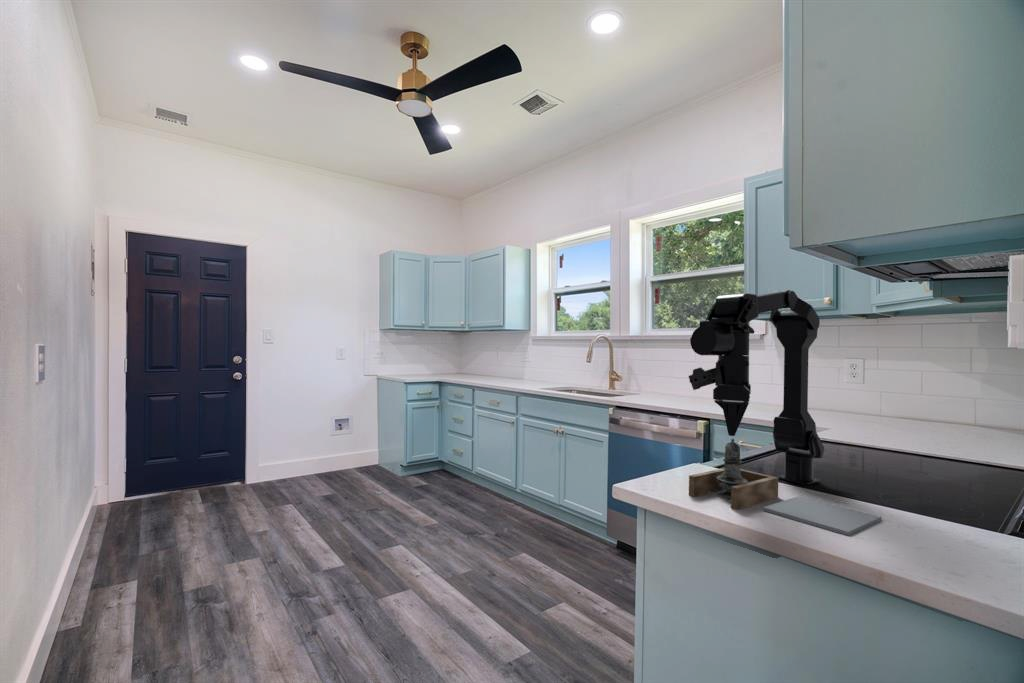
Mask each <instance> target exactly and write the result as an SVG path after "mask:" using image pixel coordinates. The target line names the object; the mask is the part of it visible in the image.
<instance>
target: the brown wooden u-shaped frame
mask: <svg viewBox="0 0 1024 683" xmlns="http://www.w3.org/2000/svg"><path fill="white" fill-rule="evenodd" d="M723 473H724V467H723V468H719V469H713V470H710V471H704V472H700V473H695V474H691V475H688V496H690V495H691V497H697V496H702V495H705V494H709V492H710V493H713V492H717V490H718V491H722V490H721V489H722V488H721V487H720V486H719V483H718V479H717V476H721V475H722V474H723ZM740 473H741V476H742V477H743V478H744V479H746V480H747V481H748V483H744V484H740V485H736V486H732V487H731V500H730V508H731V509H733V510H737V511H738V510H741V509H743V508H748V507H751V506H754V505H758V504H760V503H764V502H767V501H770V499H771V500H774V499H776V497H777V498H779V478H778V476H773V475H768V474H764V473H761V472H760V473H759V472H756V471H751V470H746V469H742V468H740ZM773 498H774V499H773Z"/></svg>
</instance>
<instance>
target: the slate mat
mask: <svg viewBox="0 0 1024 683" xmlns="http://www.w3.org/2000/svg"><path fill="white" fill-rule="evenodd" d="M763 511H764V512H768V513H770V514H773V515H777V516H780V517H784V518H788V519H791V520H794V521H798V522H801V523H805V524H808V525H811V526H814V527H817V528H821V529H825V530H828V531H831V532H835V533H837V534H838V533H839V534H843V535H845V536H850V535H853V534H854V533H856V532H859V531H861V530H863V529H866V528H868V527H869V526H872V525H874V524H876V523H878V522H880V521H881V520H882V519H883V518H882V516H881V515H877V514H872V513H869V512H865V511H861V510H857V509H852V508H849V507H845V506H840V505H837V504H833V503H829V502H825V501H821V500H819V499H818V500H817V499H813V498H809V497H805V496H802V495H798V496H795V497H791V498H789V499H788V498H787V499H784V500H781V501H779V502H778V501H777V502H775V503H772V504H769V505H765V506H763V507H762V512H763Z"/></svg>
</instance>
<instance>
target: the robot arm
mask: <svg viewBox="0 0 1024 683" xmlns="http://www.w3.org/2000/svg"><path fill="white" fill-rule="evenodd" d="M781 309H790V310H783V311H779V310H781ZM767 312H770V316H769V320H770V322H771V324H773V327H774V328H775V331H776V337H777V339H778V341H779V342H780V343H781V345H782V347H783V351H784V352H783V354H784V355H783V358H784V359H783V400H782V401H783V402H782V403H783V404H782V406H783V408H782V411H781V412H780V414H779V415H778V416H775V417H774V419H773V430H772V437H773V442H774V447H775V449H774V450H775V452H778V453H784V474H782V475H778V476H777V477H778V480H779V479H780V480H783V481H788V482H791V483H792V482H793V483H796V484H801V485H806V486H809V485H812V484H815V483H819V482H820V479H819V478H816V477H814V459H822V458H823V457H824V453H825V446H824V444H823V442H822V441H821V439H820V436H819V434H818V433H817V425H816V421H815V420H814V419H813V417H812V416H811V414H810V412H809V410H808V405H809V402H808V401H809V399H808V398H809V396H808V395H809V394H808V393H809V349H810V347H811V346H812V344H813V343H814V341H815V340H816V339H817V338H818V329H820V328H819V327H820V323H821V322H820V317H819V315H818V314H817V312H816V310H815V309H814V307H813V305H811V304H810V303H808V302H807V301H805V300H803V299H801V298H799V297H798V295H797V294H796V292H795V291H794V290H791V289H784V290H773V291H771V292H769V293H764V294H763V293H762V294H754V293H735V294H734V293H733V294H724V295H718V296H717V297H716V298H715V302H713V304H712V306H711V308H710V310H709V312H708V314H707V316H706V319H704V320H700V321H699V326H698V327H697V328H696V329H694V331H693V333H692V334H691V337H690V339H689V340H690V341H689V342H690V346H691V348H692V350H693V351H694V353H695V354H697V355H699V356H718V357H717V358H718V359H717V361H716V362H715V367H712V368H710V369H709V368H708V369H706V370H705V369H704V368H702V367H698V368H694V369H693V370H692V374H689V375H688V379H689V383H690V384H691V387H692V390H693V391H696V390H699V389H701V388H702V387H705V386H709V385H713V384H715V386H716V387H714V388H713V389H712V392H713V393H712V397H713V398H712V399H713V401H714V403H715V404H717V405H718V406H719V407H720V408H721V409H722V412H723V416H724V421H725V426H726V429H727V435H728V436H730V437H735V436H736V434H737V432H738V429H739V427H740V424H741V422H742V421H743V418H744V415H745V413H746V411H747V409H748V406H749V404H750V398H751V394H752V393H751V392H752V390H751V388H752V387H751V384H750V334H755V330H754V328H753V327H751V325H750V324H749V322H751V321H753V320H755V319H757V318H759V314H762V313H767Z"/></svg>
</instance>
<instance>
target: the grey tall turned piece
mask: <svg viewBox="0 0 1024 683" xmlns="http://www.w3.org/2000/svg"><path fill="white" fill-rule="evenodd" d="M722 461H723V462H724V463H723V464H724V465H723V466H724V467H723V468H724V473H723V474H722V475H721V476H717V479H718V483H719V486H720V487H721V488H722V490H721V491H720V492H718V493H717V497H720V498H721V499H724V500H728V501H731V487H732V486H736V485H740V484H744V483H748V481H747V480H746V479H744V478H743V477H742V476H741V473H740V469H741V464H742V463H743V461H742V460H741V446H740V444H738V443H736V442H735V439H734V437H732V438H731V439H730V442H728V443H726V444H725V447H724V458H723V459H722Z"/></svg>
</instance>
